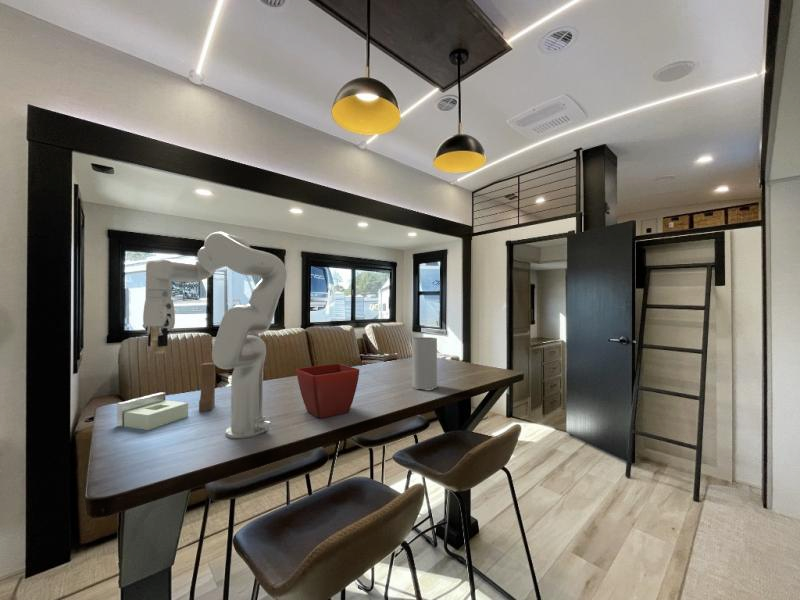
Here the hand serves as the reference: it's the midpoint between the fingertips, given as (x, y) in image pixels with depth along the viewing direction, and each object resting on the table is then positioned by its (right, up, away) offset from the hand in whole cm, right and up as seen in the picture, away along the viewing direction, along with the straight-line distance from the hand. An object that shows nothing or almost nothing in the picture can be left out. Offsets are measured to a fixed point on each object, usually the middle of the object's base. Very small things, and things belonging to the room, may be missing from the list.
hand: (157, 345), depth 117 cm
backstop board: (-7, -28, +2) cm, 29 cm away
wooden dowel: (0, -3, 0) cm, 3 cm away
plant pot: (+59, -28, +11) cm, 66 cm away
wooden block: (+9, -28, +15) cm, 33 cm away
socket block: (0, -27, 0) cm, 27 cm away
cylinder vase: (+100, -28, +48) cm, 115 cm away
